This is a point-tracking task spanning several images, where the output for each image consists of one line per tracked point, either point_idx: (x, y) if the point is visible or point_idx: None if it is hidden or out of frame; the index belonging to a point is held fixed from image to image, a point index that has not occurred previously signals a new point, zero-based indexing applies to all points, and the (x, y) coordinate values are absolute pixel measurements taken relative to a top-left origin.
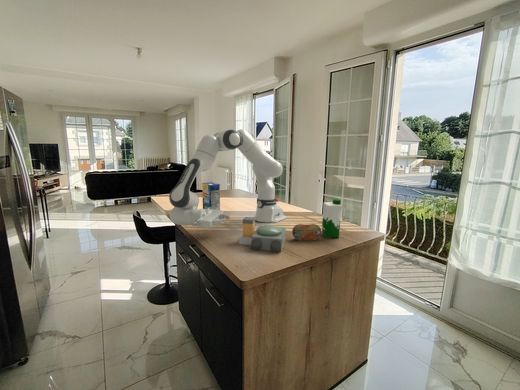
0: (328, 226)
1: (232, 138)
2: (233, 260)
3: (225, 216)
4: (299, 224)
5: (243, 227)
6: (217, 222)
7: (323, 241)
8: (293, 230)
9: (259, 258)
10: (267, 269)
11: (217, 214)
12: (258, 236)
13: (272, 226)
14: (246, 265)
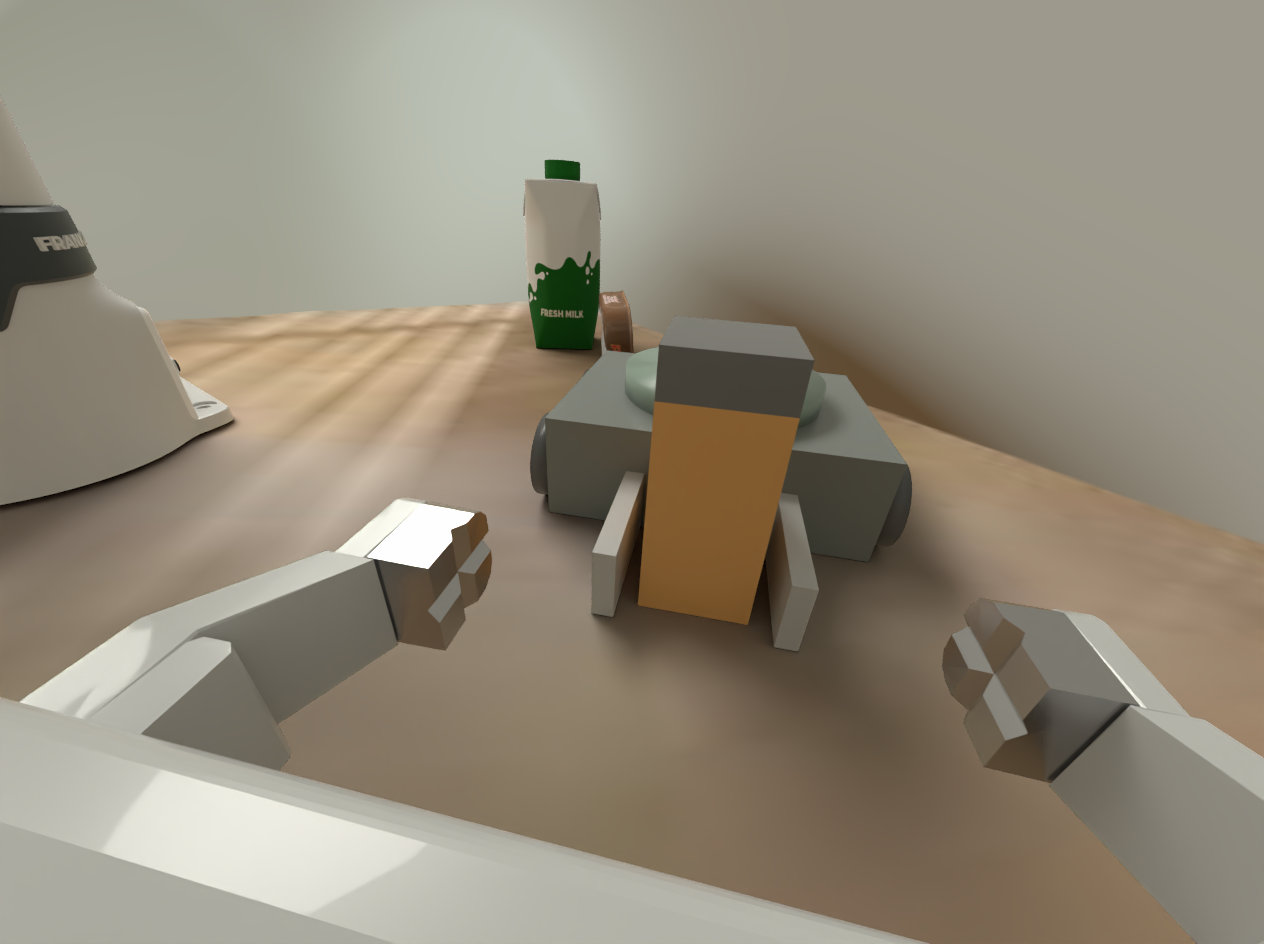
0: (592, 295)
1: None
2: (1246, 686)
3: (358, 614)
4: (615, 307)
5: (785, 465)
6: (1250, 832)
7: None
8: (629, 349)
9: (1002, 527)
10: (1112, 505)
11: (401, 918)
12: (868, 434)
13: (654, 359)
14: (1201, 591)
